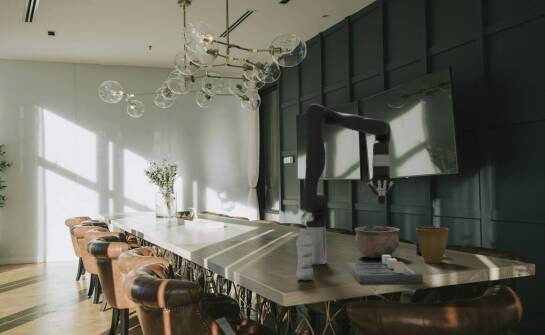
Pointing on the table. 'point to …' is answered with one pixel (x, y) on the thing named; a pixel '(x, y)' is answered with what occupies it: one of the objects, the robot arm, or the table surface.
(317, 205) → the robot arm
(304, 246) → the plastic bottle
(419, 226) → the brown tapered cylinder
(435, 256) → the plant pot
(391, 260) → the block
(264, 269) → the table surface
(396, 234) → the ceramic bowl
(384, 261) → the breaker back
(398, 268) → the block
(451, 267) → the table surface
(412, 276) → the breaker panel
